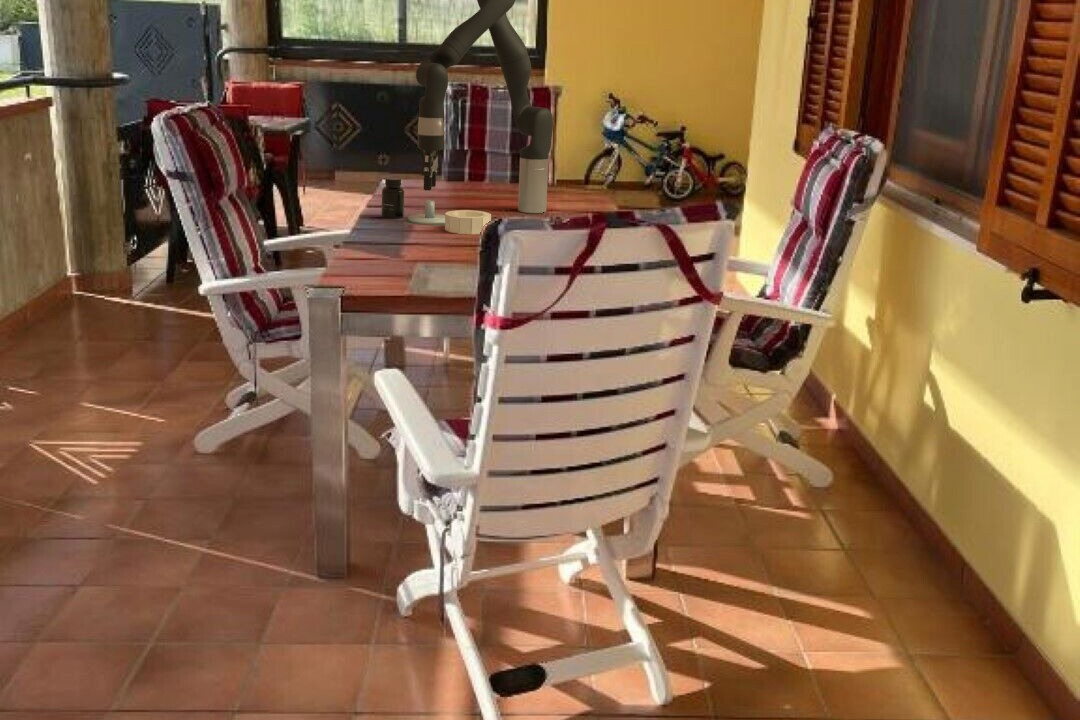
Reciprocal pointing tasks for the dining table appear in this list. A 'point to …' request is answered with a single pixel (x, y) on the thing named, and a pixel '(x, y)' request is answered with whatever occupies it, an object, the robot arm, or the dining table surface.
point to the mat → (420, 224)
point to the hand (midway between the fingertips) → (429, 188)
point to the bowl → (466, 221)
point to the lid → (428, 216)
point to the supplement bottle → (392, 199)
